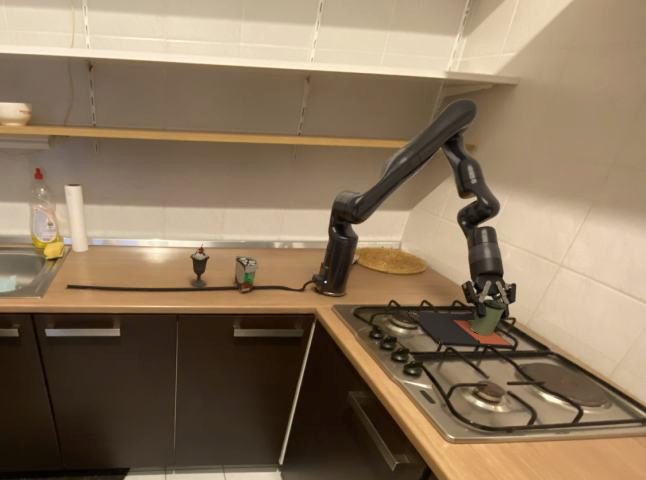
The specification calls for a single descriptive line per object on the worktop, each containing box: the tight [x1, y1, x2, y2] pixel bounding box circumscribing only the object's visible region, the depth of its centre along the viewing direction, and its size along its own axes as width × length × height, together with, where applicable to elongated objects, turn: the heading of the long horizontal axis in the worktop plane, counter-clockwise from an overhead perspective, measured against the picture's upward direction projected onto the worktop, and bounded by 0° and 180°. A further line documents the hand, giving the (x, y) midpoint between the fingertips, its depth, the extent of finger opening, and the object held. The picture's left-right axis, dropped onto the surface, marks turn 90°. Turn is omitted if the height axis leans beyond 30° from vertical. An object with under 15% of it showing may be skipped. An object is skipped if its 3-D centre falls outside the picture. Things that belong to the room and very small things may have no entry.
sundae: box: [189, 243, 211, 287], centre depth 133 cm, size 7×7×15 cm
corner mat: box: [411, 310, 515, 350], centre depth 113 cm, size 20×20×1 cm
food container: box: [233, 255, 259, 294], centre depth 133 cm, size 12×6×10 cm, turn 9°
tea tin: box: [471, 298, 507, 336], centre depth 108 cm, size 5×5×9 cm
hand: (493, 317), depth 106 cm, fingers closed on tea tin, 5 cm apart
